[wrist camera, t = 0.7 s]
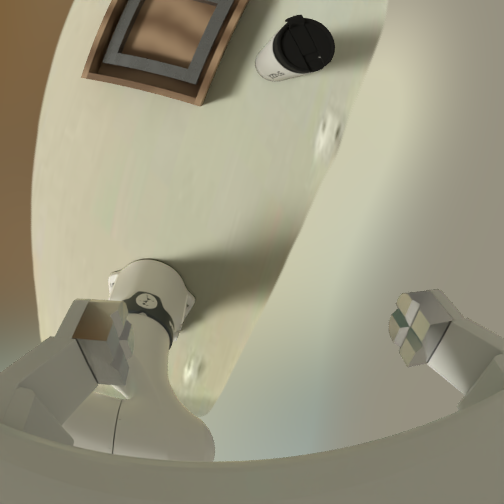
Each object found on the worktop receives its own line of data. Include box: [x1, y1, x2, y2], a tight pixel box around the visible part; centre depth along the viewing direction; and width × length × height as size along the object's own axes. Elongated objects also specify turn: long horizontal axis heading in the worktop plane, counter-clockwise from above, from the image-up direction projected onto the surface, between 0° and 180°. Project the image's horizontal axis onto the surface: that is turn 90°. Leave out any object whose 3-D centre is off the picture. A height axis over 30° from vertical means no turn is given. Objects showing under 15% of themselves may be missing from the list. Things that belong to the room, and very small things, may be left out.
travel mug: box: [255, 15, 335, 81], centre depth 32 cm, size 6×7×20 cm
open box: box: [81, 0, 249, 106], centre depth 34 cm, size 22×20×5 cm
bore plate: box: [103, 0, 235, 85], centre depth 35 cm, size 16×16×2 cm
